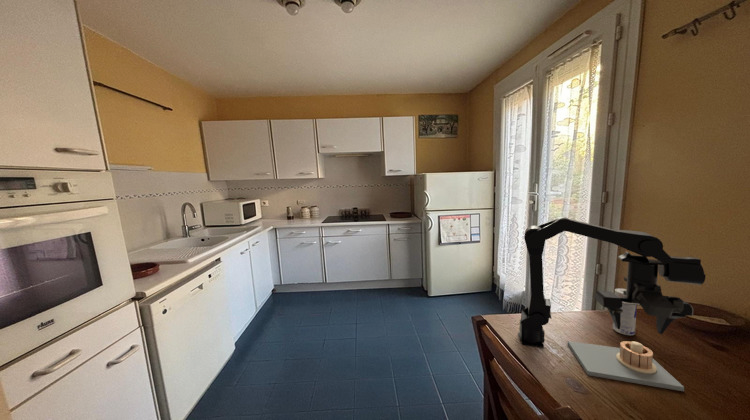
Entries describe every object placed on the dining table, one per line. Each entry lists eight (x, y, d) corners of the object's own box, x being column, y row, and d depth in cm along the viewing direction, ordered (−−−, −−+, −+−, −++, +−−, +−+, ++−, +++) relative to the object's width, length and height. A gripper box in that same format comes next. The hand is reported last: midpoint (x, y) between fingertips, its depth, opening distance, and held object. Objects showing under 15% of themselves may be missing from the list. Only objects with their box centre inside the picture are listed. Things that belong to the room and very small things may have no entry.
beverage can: (639, 337, 85) (642, 295, 84) (620, 335, 86) (622, 294, 85) (626, 327, 90) (629, 288, 89) (608, 326, 92) (610, 287, 90)
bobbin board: (587, 374, 70) (588, 351, 69) (567, 344, 83) (568, 323, 82) (683, 391, 63) (686, 365, 63) (645, 355, 76) (646, 333, 76)
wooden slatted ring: (628, 366, 70) (629, 353, 69) (614, 352, 76) (615, 339, 75) (658, 371, 68) (659, 357, 67) (642, 356, 74) (643, 343, 73)
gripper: (616, 286, 65) (613, 342, 66) (716, 293, 58) (710, 355, 60) (594, 271, 75) (592, 320, 77) (677, 276, 69) (673, 329, 70)
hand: (638, 330), depth 71 cm, fingers open, 9 cm apart
